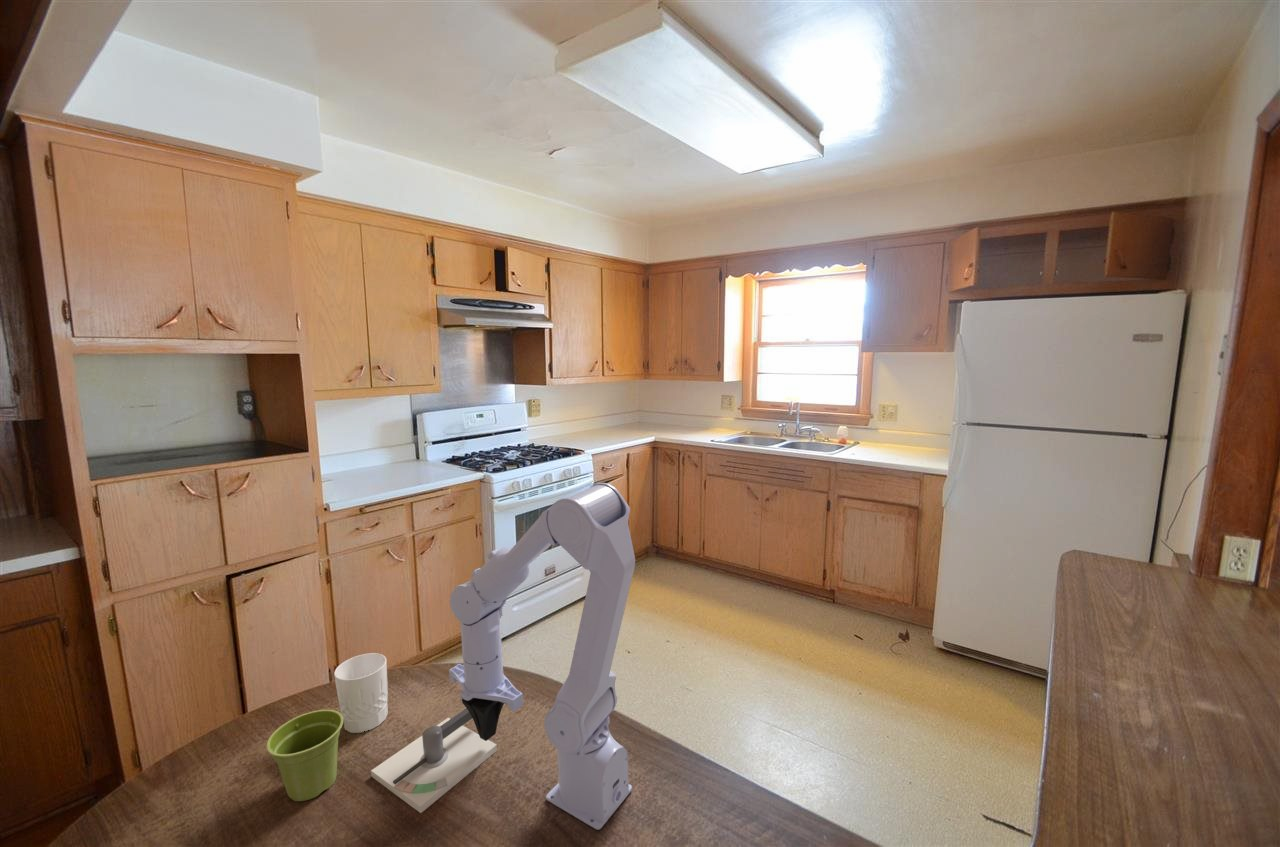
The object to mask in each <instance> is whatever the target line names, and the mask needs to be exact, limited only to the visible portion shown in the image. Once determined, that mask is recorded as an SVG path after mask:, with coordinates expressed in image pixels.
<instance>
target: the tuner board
mask: <svg viewBox="0 0 1280 847" xmlns="http://www.w3.org/2000/svg"><path fill="white" fill-rule="evenodd" d="M450 719H451V718H450V717H447V718H446V719H444V720H442V721H441V722H439V723H438V724H437V725H436V726H439V727H440V726H441V725H443V724H444V723H446V722H447V721H449V720H450ZM443 748H444V756H443V758H442V759H441V760H439V761H438V762H436V763H431V764H430V763H426V762H425V763H424V764H422V765H421V766H419V767H418V768H417V769H415V770H414V771H413V772H411V773H410V774H409V775H407V776H406V777H405V778H403V779H402V780H400V781H399V782H398V783H396V784H394V783H393V781H394V780H395V779H396V778H398V777H399V776H401V775H402V774H403V773H405V772H406V771H407V770H409V769H410V768H411V767H413V766H414V765H416V764H417V763H418V762H420V761H421V760H422V759H424V750H423V738H422V735H421V736H419V737H418V738H416V739H415V740H414V741H412V742H410V743H409V744H408V745H406V746H405V747H403V748H402V749H400V750H399V751H397V752H396V753H394V754H393V755H392V756H390V757H388V758H387V759H385V760H384V761H383V762H382V763H380V764H378V765H377V766H375V767H374V768H373V769H370V774H371V775H370V776H371V778H372V779H374V780H375V781H377V782H378V783H380V785H382V786H383V787H385V788H386V789H387V790H389V791H390V792H391V793H393V795H395V796H397V797H398V798H400V799H401V800H402V801H404V802H405V803H406V804H408V806H410V807H412V808H413V809H414V810H416V811H417V812H418V813H420V814H422V813H423V812H424V811H426V809H428V808H430V806H431V805H433V804H434V803H435V802H436V801H437V800H439V799H440V798H442V796H443V795H446V793H447V792H448V791H450V790H451V789H452V788H453V787H454V786H456V785H458V783H460V782H461V781H462V780H463V779H464V778H466V777H467V776H468V775H469V774H470V773H472V772H473V771H475V769H476V768H478V767H479V766H480V765H482V763H484V762H485V761H486V760H488V759H489V758H490V757H491V756H492V755H493V754H495V753H496V752H497V751H498V744H497V743H494V742H493V741H491V740H489V739H488V740H487V741H485V740H483V739H481V738H480V736H479V734H478V732H475V731H473V730H472V729H470V728H468V727H466V726H464V725H462V726H461V727H460V728H458V729H457V730H455V731H454V732H453V733H451V734H450V735H448V736H447V737H446V738H444V739H443Z"/></svg>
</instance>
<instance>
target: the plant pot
mask: <svg viewBox="0 0 1280 847" xmlns="http://www.w3.org/2000/svg"><path fill="white" fill-rule="evenodd" d="M343 726H344V724H343V717H342V714H341V712H339V711H337V710H334V709H319V710H314V711H310V712H306V713H303V714H300V715H298V716H296V717H293V718H292V719H290V720H289V721H286V722H285V723H283V724H282V725H280V726H279V727H278V728H277V729H276V730H274V732H273V733H271V735H270V736H269V738H268V740H267V742H266V750H267V753H268V754H269V755H270V756H272V758H273V759H274V761H275V762H276V764H277V767H278V769H279V773H280V775H281V778H282V781H283V784H284V787H285V790H286V793H287V794H286V795H287V796H288V797H289V798H290V799H291V800H292V801H294V802H304V801H308V800H312V799H314V798H317V797H318V796H319V795H321V793H323V792H324V791H325V790H329V789H330V788H331V787H332V786H333V785H334V783H335V781H336V780H337V775H338V774H337V772H338V754H339V752H338V750H339V749H338V748H339V737H340V733H341V729H342V727H343Z"/></svg>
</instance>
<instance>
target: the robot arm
mask: <svg viewBox="0 0 1280 847" xmlns="http://www.w3.org/2000/svg"><path fill="white" fill-rule="evenodd" d="M630 512H631V508H630V506H629V504H628V503H627V501H626V500H625V498H624V497H623V495H622V494H621V492H620V491H619V490H618V489H617V488H616V487H615V486H614V485H612V484H610V483H606V482H597V483H594V484H592V485H591V486H590V487H589V488H586V489H584V490H582V491H580V492H577V493H574V494H573V495H570V496H568V497H562V498H560V499H558V500H556V501H555V502H553V503H552V505H551V506H550V507H549V508H547V509H545V510H543V511H542V512H541V514H540V516H539V517H538V518H537V519H536V520H535V522H534V523H533V524H532V525H531V526H530V527H529V528H528V529H527V531H526V532H525V533H524V534H523V535H522V537H521V538H520V539H519V540H518V541H517V542H516V543H515V544H514V545H513V546H512V547H503V548H496V549H493V550H492V551H490V552H489V553H488V555H487V556H486V557H487V559H488V560H487V561H486V562H485V563H484V565H483V566H482V567H478V568H477V569H474V571H473V572H472V573H471V576H472V577H471V579H470V580H469V581H467V582H465V583H461V584H459V585H457V586H455V587H454V589H453V591H452V592H451V594H450V596H449V605H450V609H451V612H452V613H453V616H454V617H455V618H456V620H458V622H460V635H461V649H462V650H461V651H462V662H463V664H461V663H458V664H456V665H455V666H453V667H451V668H450V669H449V670H448V672H449V673H448V674H449V675H448V676H449V682H452V683H456V682H457V683H458V685H459V686H460V688H461V689H462V690H461V691H460V692H459V697H460V698H461V702H462V704H463V706H465V709H466V708H467V709H468V711H469V712H470V714H471V716H472V721H473V722H474V725H475V728H476V731H477V734H479V736H480V738H481V739H483V740H485V741H487V740H489V739H491V738H492V737H493V736H495V735H496V733H497V728H498V724H499V723H498V722H499V719H500V715H501V711H502V710H503V707H504V705H506V706H508V710H509V711H511V712H512V713H515V712H516V711H517V710H519V709H520V708H521V707H522V706H523V705H524V695H523V694H524V693H523V692H521V691H520V690H518V689H517V688H516V687H515V685H514V684H513V683H511V681H510V680H509V678H508V677H507V676H506V675H505V674H504V667H503V666H504V665H503V664H504V663H503V662H504V661H503V648H502V647H503V646H502V633H501V632H502V630H501V618H502V617H503V608H504V605H506V603H507V600H508V597H509V596H510V595H511V594H512V593H513V592H514V591H516V590H517V589H518V587H520V586H521V585H522V584H523V583H524V582H525V581H526V580H527V579H528V577H529V575H530V564H532V563H533V561H534V560H536V559H537V558H538V557H539V556H540V555H541V554H543V553H544V552H545V551H546V550H547V549H549V547H551V546H553V547H555V546H557V545H559V546H561V548H562V549H564V550H565V551H566V552H567V553H568V554H569V555H570V556H571V557H572V558H573V559H574V560H575V561H576V562H577V563H578V564H579V565H580V566H581V567H582V568H583V569H584V570H588V571H589V572H590V575H589V579H588V585H587V589H586V593H585V598H584V603H583V607H582V611H581V617H580V621H579V627H578V632H577V636H576V641H575V645H574V650H573V656H572V660H571V664H570V668H569V672H568V675H567V677H566V679H565V681H564V682H563V684H562V686H561V687H560V689H559V691H558V693H557V695H556V696H555V698H554V699H555V700H554V704H553V707H552V708H550V709H549V710H548V711H547V713H546V714H545V717H544V720H543V721H544V730H545V734H546V736H547V738H548V740H549V742H550V743H551V744H552V745H553V747H554V748H555V749H556V750H557V751H556V752H557V766H558V767H557V772H558V783H557V784H555V785H554V787H553V788H551V789H550V791H549V792H548V793H547V794H546V795H545V800H546V801H547V802H549V803H552V804H553V806H556V807H558V808H559V809H560V810H563V811H565V812H566V813H568V814H569V815H571V816H573V817H575V818H576V819H578V820H580V821H581V822H583V823H585V824H586V825H588V826H589V827H591V828H593V829H595V830H601V829H602V828H603V827H604V825H605V824H606V823H607V822H608V821H609V819H610V818H611V817H612V816H613V814H614V813H615V812H616V810H617V809H618V808H619V807H620V805H621V804H622V803H623V802H624V800H625V799H626V798H627V797H628V795H630V793H631V792H632V790H633V786H632V785H631V784H630V783H629V759H628V758H629V757H628V756H629V755H628V751H627V750H626V748H625V747H624V746H623V745H622V744H620V743H618V742H617V741H616V740H615V738H613V736H612V734H611V732H610V729H609V726H610V725H609V724H610V722H611V720H610V714H612V713H613V711H614V710H615V709H616V707H617V703H618V696H617V691H616V687H615V686H616V681H617V675H616V674H615V673H614V672H613V671H612V670H611V669H612V666H613V660H614V658H615V651H616V647H617V643H618V639H619V637H620V636H619V634H620V630H621V627H622V626H621V625H622V623H623V622H622V621H623V618H624V613H625V609H626V606H627V602H628V597H629V592H630V588H631V584H632V579H633V576H634V572H635V568H636V557H635V552H634V546H633V541H632V536H631V531H630V526H629V518H630V514H631V513H630Z"/></svg>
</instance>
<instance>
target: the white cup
mask: <svg viewBox="0 0 1280 847" xmlns="http://www.w3.org/2000/svg"><path fill="white" fill-rule="evenodd" d="M387 668H388V664H387V657H386V656H385V655H384V654H381V653H377V652H376V653H375V652H369V653H363V654H359V655H355V656H353V657H351V658H350V657H349V658H347V659H346V660H345V661H343V662H342V663H339V665H338V666H337V667H336V668H335V670H334V672H333V676H334V683H335V689H336V695H337V699H338V705H339V709H340V714H341V715H342V717H343V728H344V731H346V730H347V732H348V733H350V734H360V733H365V732H369V731H371V730H372V729H375V728H376V727H379V726H380V725H381V724H382V723H383V722H384V721H386V718H387V717H388V713H389V710H388V695H389V693H388V686H389V685H388V669H387ZM368 730H369V731H368ZM364 731H365V732H364Z"/></svg>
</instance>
